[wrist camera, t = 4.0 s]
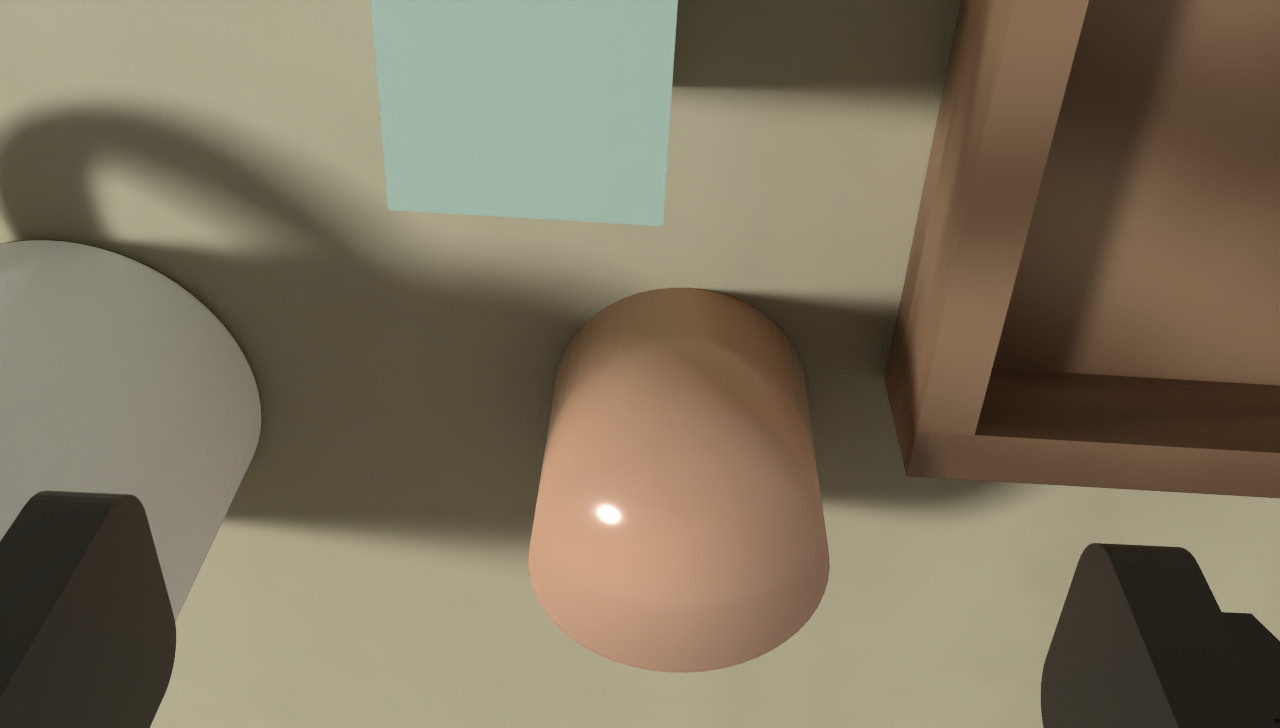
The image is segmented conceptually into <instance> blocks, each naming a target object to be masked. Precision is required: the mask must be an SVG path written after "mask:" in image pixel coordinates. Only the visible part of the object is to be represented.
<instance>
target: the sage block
mask: <svg viewBox="0 0 1280 728" xmlns="http://www.w3.org/2000/svg"><path fill="white" fill-rule="evenodd" d="M677 7H678V0H371V8H372V20H373V32H374V45H375V57H376V69H377V82H378V94H379V107H380V119H381V131H382V144H383V156H384V168H385V181H386V193H387V205H388V210H399V211H415V212H432V213H449V214H466V215H483V216H499V217H516V218H533V219H550V220H567V221H584V222H600V223H617V224H634V225H651V226H663V217H664V202H665V187H666V172H667V157H668V142H669V127H670V112H671V97H672V82H673V67H674V52H675V37H676V22H677Z"/></svg>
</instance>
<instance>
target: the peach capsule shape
mask: <svg viewBox="0 0 1280 728" xmlns="http://www.w3.org/2000/svg"><path fill="white" fill-rule="evenodd" d="M528 563H529V575H530V579H531V583H532V586H533V590H534V592H535V594H536V596H537V598H538V601H539V603H540V604H541V606H542V607H543V609H544V610H545V612H546V613H547V615H548V616H549V617H550V618H551V620H552V621H553V622H554V623H555V624H556V625H557V626H558V627H559V628H560V629H561V630H562V631H563V632H564V633H566V634H567V635H568V636H569V637H570V638H572V639H573V640H574V641H576V642H577V643H579V644H580V645H582V646H583V647H585V648H587V649H589V650H591V651H592V652H594V653H596V654H598V655H600V656H603V657H605V658H608V659H610V660H613V661H615V662H618V663H622V664H625V665H628V666H632V667H637V668H642V669H647V670H653V671H662V672H700V671H709V670H715V669H721V668H726V667H730V666H733V665H737V664H741V663H743V662H746V661H749V660H752V659H754V658H757V657H759V656H761V655H763V654H765V653H767V652H769V651H771V650H773V649H774V648H776V647H778V646H779V645H781V644H782V643H784V642H785V641H787V640H788V639H789V638H790V637H792V636H793V635H794V634H795V633H796V632H798V631H799V630H800V629H801V628H802V627H803V625H804V624H805V623H806V622H807V621H808V620H809V619H810V617H811V616H812V614H813V613H814V612H815V610H816V609H817V607H818V605H819V603H820V601H821V599H822V597H823V595H824V592H825V589H826V585H827V582H828V576H829V566H830V565H829V551H828V544H827V537H826V529H825V522H824V515H823V508H822V500H821V493H820V486H819V479H818V471H817V464H816V457H815V450H814V442H813V435H812V428H811V420H810V413H809V406H808V399H807V391H806V384H805V377H804V372H803V368H802V364H801V361H800V359H799V357H798V354H797V352H796V350H795V348H794V346H793V345H792V343H791V342H790V340H789V338H788V337H787V336H786V335H785V333H784V332H783V331H782V330H781V329H780V328H779V326H778V325H776V324H775V323H774V322H773V321H772V320H771V319H770V318H769V317H767V316H766V315H765V314H763V313H762V312H760V311H759V310H757V309H756V308H754V307H753V306H751V305H749V304H747V303H745V302H743V301H741V300H739V299H736V298H733V297H730V296H728V295H725V294H722V293H717V292H713V291H709V290H703V289H694V288H666V289H656V290H651V291H647V292H642V293H638V294H635V295H632V296H629V297H627V298H624V299H621V300H619V301H617V302H615V303H613V304H611V305H609V306H607V307H606V308H604V309H603V310H601V311H600V312H598V313H597V314H595V315H594V316H593V317H592V318H591V319H589V320H588V321H587V322H586V323H585V324H584V325H583V326H582V327H581V328H580V329H579V330H578V331H577V333H576V334H575V335H574V336H573V338H572V339H571V341H570V342H569V344H568V346H567V347H566V349H565V351H564V354H563V356H562V358H561V360H560V364H559V368H558V372H557V377H556V383H555V390H554V396H553V402H552V409H551V415H550V421H549V428H548V434H547V440H546V446H545V453H544V459H543V465H542V472H541V478H540V484H539V491H538V497H537V503H536V510H535V516H534V522H533V529H532V535H531V541H530V548H529V559H528Z"/></svg>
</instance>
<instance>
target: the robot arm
mask: <svg viewBox="0 0 1280 728" xmlns="http://www.w3.org/2000/svg"><path fill="white" fill-rule="evenodd" d="M175 649H176V627H175V619H174V614H173V611H172V607H171V603H170V600H169V596H168V592H167V588H166V585H165V581H164V577H163V574H162V570H161V566H160V563H159V559H158V555H157V552H156V548H155V544H154V541H153V537H152V533H151V530H150V526H149V522H148V519H147V515H146V512H145V509H144V507H143V505H142V503H141V501H140V500H139V499H138V498H137V497H135V496H134V495H129V494H109V493H88V492H67V491H41V492H39V493H37V494H35V495H34V496H33V497H32V498H30V499H29V501H28V502H27V503H26V504H25V506H24V507H23V508H22V510H21V511H20V513H19V514H18V516H17V517H16V519H15V520H14V522H13V523H12V525H11V526H10V528H9V529H8V531H7V532H6V534H5V535H4V537H3V538H2V540H1V541H0V728H150V726H151V723H152V721H153V719H154V717H155V715H156V712H157V710H158V708H159V706H160V703H161V701H162V699H163V697H164V694H165V692H166V689H167V687H168V684H169V681H170V677H171V673H172V669H173V664H174V658H175ZM1041 711H1042V720H1043V727H1044V728H1280V641H1279V640H1278V639H1277V638H1276V637H1275V636H1274V635H1273V634H1272V633H1271V632H1269V631H1268V630H1267V629H1266V628H1265V627H1264V626H1263V625H1262V624H1261V623H1260V622H1259V621H1258V620H1257V619H1256V618H1255V617H1254V616H1253V615H1252V614H1246V613H1225V612H1221V610H1220V608H1219V606H1218V604H1217V602H1216V600H1215V598H1214V596H1213V594H1212V592H1211V590H1210V588H1209V585H1208V583H1207V581H1206V579H1205V577H1204V575H1203V573H1202V571H1201V569H1200V567H1199V565H1198V563H1197V562H1196V560H1195V558H1194V557H1193V556H1192V554H1191V553H1190V552H1188V551H1187V550H1186V549H1184V548H1181V547H1163V546H1142V545H1120V544H1099V543H1093V544H1090V545H1088V546H1087V547H1086V548H1085V550H1084V551H1083V553H1082V555H1081V557H1080V559H1079V562H1078V565H1077V568H1076V571H1075V574H1074V577H1073V580H1072V583H1071V586H1070V589H1069V592H1068V595H1067V598H1066V600H1065V603H1064V606H1063V609H1062V612H1061V615H1060V618H1059V621H1058V624H1057V627H1056V630H1055V633H1054V636H1053V639H1052V642H1051V645H1050V648H1049V651H1048V654H1047V657H1046V660H1045V664H1044V668H1043V674H1042V682H1041Z"/></svg>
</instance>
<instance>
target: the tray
mask: <svg viewBox="0 0 1280 728" xmlns="http://www.w3.org/2000/svg"><path fill="white" fill-rule="evenodd" d="M885 383H886V388H887V392H888V397H889V401H890V405H891V410H892V414H893V419H894V423H895V427H896V432H897V436H898V441H899V445H900V449H901V454H902V458H903V463H904V467H905V471H906V476H913V477H930V478H947V479H964V480H981V481H998V482H1015V483H1032V484H1048V485H1065V486H1082V487H1099V488H1116V489H1133V490H1150V491H1167V492H1184V493H1201V494H1218V495H1235V496H1252V497H1268V498H1280V0H962V1H961V6H960V11H959V16H958V21H957V26H956V31H955V36H954V41H953V45H952V50H951V55H950V60H949V65H948V70H947V75H946V80H945V85H944V90H943V95H942V100H941V105H940V110H939V115H938V120H937V125H936V130H935V135H934V139H933V144H932V149H931V154H930V159H929V164H928V169H927V174H926V179H925V184H924V189H923V194H922V199H921V204H920V209H919V214H918V219H917V224H916V229H915V233H914V238H913V243H912V248H911V253H910V258H909V263H908V268H907V273H906V278H905V283H904V288H903V293H902V298H901V303H900V308H899V313H898V318H897V323H896V327H895V332H894V337H893V342H892V347H891V352H890V357H889V362H888V367H887V372H886V377H885Z"/></svg>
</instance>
